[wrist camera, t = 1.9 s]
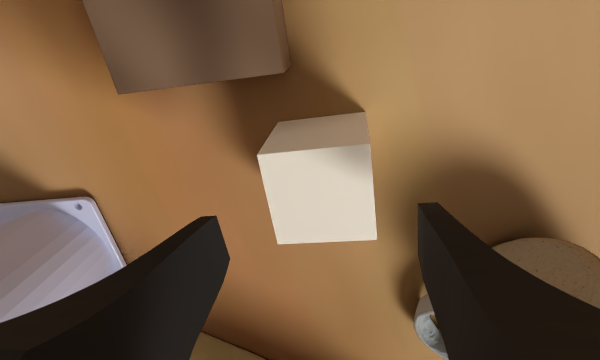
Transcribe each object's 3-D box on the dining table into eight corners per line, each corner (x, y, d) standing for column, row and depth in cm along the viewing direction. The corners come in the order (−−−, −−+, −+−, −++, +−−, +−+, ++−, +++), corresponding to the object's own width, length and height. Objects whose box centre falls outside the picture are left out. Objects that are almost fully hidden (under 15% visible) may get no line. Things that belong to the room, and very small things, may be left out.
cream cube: (292, 195, 19) (277, 244, 15) (278, 121, 17) (257, 155, 13) (371, 190, 19) (377, 239, 15) (365, 111, 17) (370, 143, 13)
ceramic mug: (558, 204, 17) (684, 332, 11) (619, 301, 19) (755, 458, 13) (384, 283, 22) (395, 410, 15) (450, 355, 24) (485, 494, 17)
